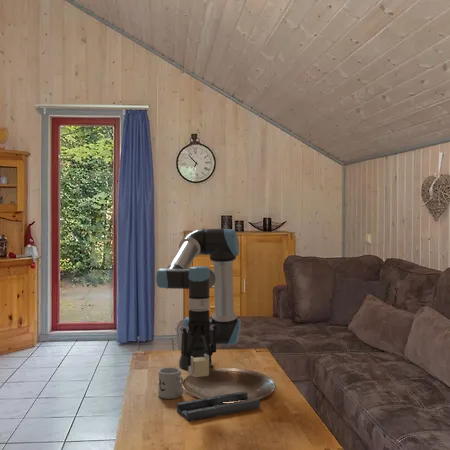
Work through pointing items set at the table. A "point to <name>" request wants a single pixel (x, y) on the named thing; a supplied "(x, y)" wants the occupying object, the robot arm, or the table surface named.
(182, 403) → the rail
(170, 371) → the mug
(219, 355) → the table surface
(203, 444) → the table surface
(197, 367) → the brushed top tan cube
